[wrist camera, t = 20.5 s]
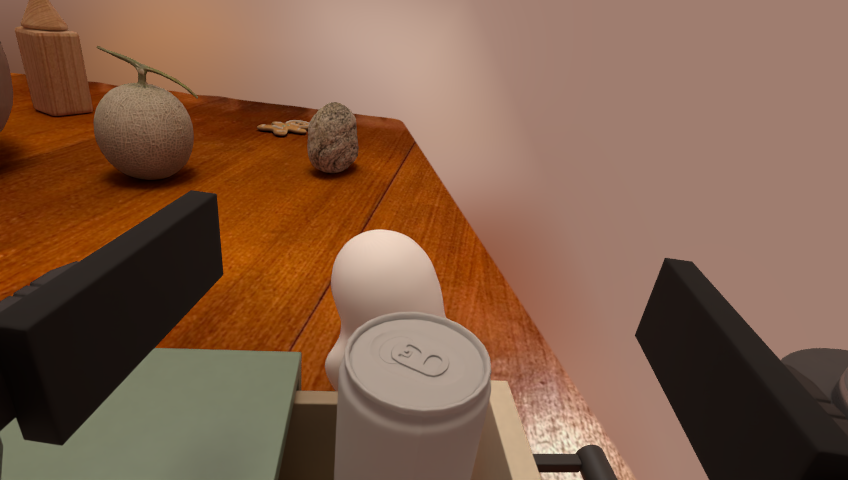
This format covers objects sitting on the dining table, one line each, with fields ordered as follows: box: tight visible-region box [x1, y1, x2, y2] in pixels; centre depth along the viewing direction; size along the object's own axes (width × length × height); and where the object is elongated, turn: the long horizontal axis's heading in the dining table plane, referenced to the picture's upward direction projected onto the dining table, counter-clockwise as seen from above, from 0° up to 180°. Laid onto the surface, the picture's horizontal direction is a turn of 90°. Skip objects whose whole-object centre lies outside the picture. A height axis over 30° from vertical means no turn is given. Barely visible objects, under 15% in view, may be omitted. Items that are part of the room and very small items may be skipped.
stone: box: [308, 102, 358, 173], centre depth 69 cm, size 6×10×10 cm, turn 153°
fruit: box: [94, 46, 198, 180], centre depth 58 cm, size 10×12×15 cm
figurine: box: [325, 230, 446, 391], centre depth 29 cm, size 7×8×12 cm
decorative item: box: [15, 0, 93, 116], centre depth 78 cm, size 7×7×20 cm
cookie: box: [257, 120, 310, 136], centre depth 88 cm, size 8×1×10 cm
